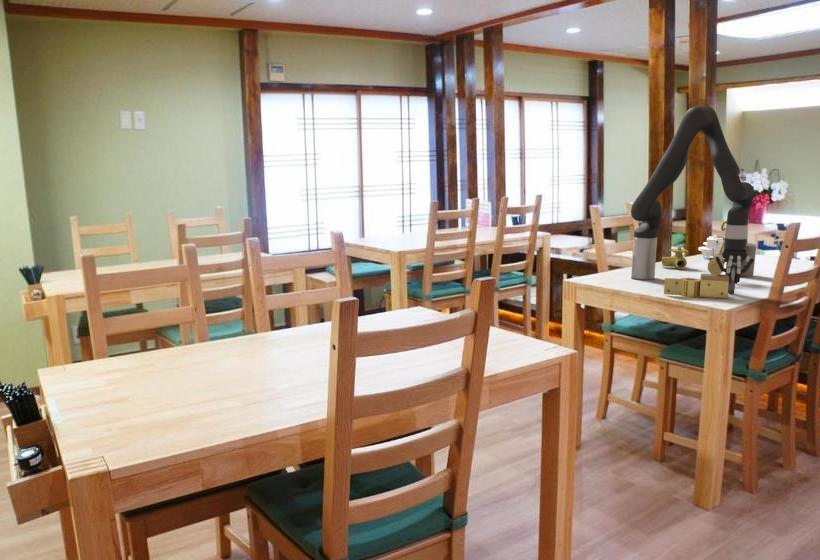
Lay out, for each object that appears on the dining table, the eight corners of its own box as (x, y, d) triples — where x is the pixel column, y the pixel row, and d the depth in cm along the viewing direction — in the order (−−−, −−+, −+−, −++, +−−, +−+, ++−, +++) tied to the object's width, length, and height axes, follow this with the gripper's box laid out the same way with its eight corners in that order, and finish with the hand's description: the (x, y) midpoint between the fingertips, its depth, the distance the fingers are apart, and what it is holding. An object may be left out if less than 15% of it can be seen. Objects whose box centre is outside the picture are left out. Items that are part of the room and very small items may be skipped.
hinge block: (663, 295, 248) (665, 274, 246) (663, 292, 254) (664, 271, 253) (727, 299, 241) (729, 277, 240) (725, 295, 248) (727, 274, 246)
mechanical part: (704, 256, 341) (706, 233, 338) (728, 259, 332) (730, 235, 329) (693, 258, 334) (695, 234, 331) (717, 261, 324) (719, 237, 322)
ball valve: (689, 270, 301) (690, 248, 299) (665, 270, 302) (666, 248, 301) (682, 266, 313) (683, 244, 311) (659, 265, 315) (660, 244, 313)
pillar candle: (724, 275, 288) (728, 240, 285) (733, 272, 294) (736, 238, 292) (748, 278, 281) (752, 243, 278) (756, 275, 288) (760, 241, 285)
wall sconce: (725, 285, 266) (730, 222, 261) (702, 282, 273) (707, 220, 269) (743, 281, 274) (749, 220, 269) (721, 278, 281) (726, 218, 277)
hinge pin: (726, 294, 250) (729, 262, 248) (725, 292, 253) (727, 261, 251) (737, 294, 249) (739, 263, 247) (735, 293, 252) (738, 261, 250)
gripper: (716, 237, 246) (712, 284, 249) (758, 238, 242) (754, 286, 245) (714, 235, 253) (710, 280, 256) (755, 236, 249) (750, 282, 252)
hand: (732, 283), depth 250 cm, fingers closed on hinge pin, 2 cm apart
